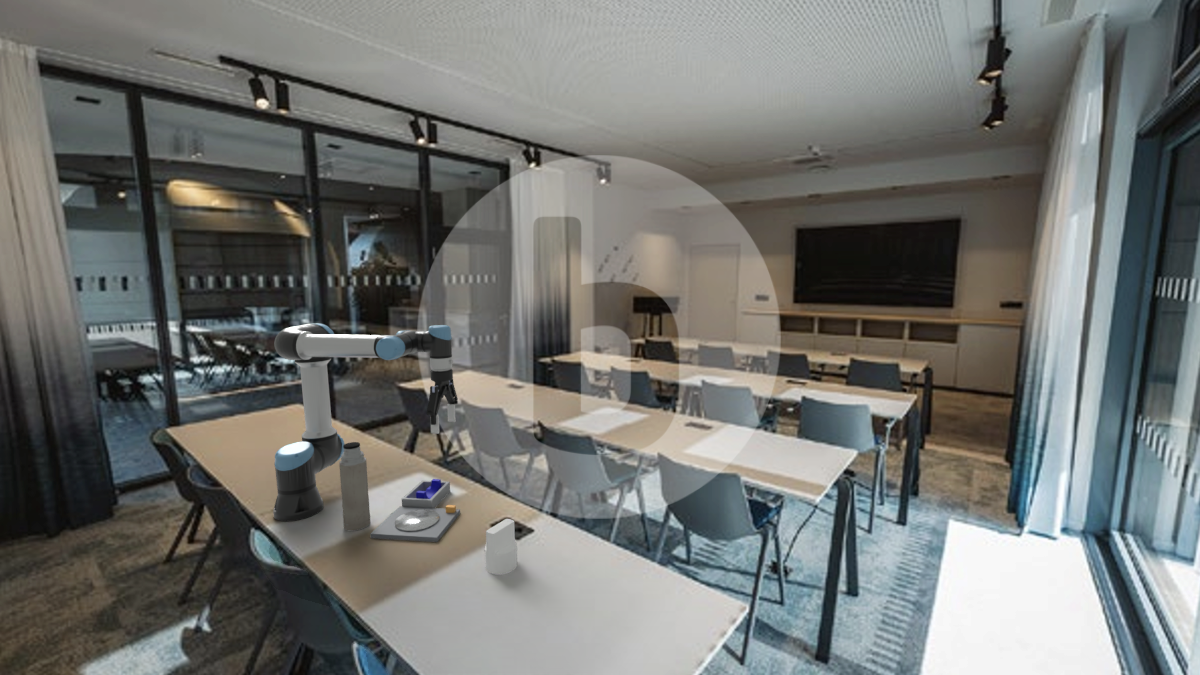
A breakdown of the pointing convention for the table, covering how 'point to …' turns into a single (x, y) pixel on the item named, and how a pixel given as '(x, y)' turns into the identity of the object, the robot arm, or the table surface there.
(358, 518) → the thermos bottle
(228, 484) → the table surface
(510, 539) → the cylinder with rectangular tab
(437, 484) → the blue stepped block
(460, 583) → the table surface
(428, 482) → the desk organizer
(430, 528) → the rosette base
